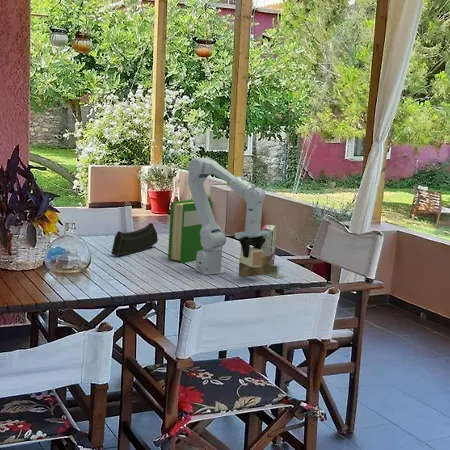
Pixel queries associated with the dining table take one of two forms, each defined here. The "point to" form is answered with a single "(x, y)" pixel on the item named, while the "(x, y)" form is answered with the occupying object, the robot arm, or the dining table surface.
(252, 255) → the boxed book
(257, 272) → the shelf wall
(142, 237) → the magazine
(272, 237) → the candy bar box
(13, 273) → the dining table surface
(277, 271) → the bookend
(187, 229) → the hardback book
